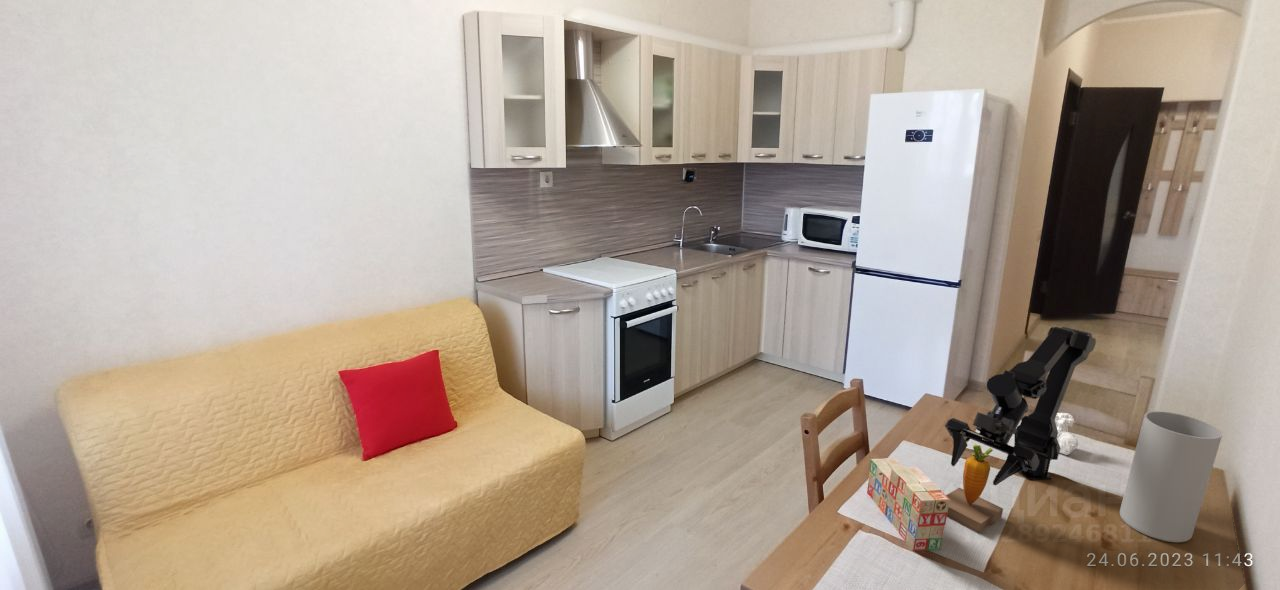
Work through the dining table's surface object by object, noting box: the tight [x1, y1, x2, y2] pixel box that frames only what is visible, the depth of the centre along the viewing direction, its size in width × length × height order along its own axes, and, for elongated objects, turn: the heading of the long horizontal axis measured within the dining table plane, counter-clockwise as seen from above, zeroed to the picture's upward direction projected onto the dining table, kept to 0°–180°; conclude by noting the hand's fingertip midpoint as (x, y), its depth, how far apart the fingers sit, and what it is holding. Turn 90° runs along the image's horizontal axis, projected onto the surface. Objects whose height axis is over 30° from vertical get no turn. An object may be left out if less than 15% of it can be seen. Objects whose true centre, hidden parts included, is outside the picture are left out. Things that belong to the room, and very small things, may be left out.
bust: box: [1055, 412, 1079, 456], centre depth 167 cm, size 12×8×11 cm
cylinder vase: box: [1119, 410, 1223, 543], centre depth 131 cm, size 12×12×25 cm
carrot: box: [962, 443, 994, 504], centre depth 134 cm, size 5×5×15 cm
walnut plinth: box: [945, 487, 1004, 535], centre depth 136 cm, size 10×10×2 cm
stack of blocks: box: [866, 457, 950, 552], centre depth 133 cm, size 21×6×12 cm, turn 6°
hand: (972, 474), depth 133 cm, fingers open, 9 cm apart
